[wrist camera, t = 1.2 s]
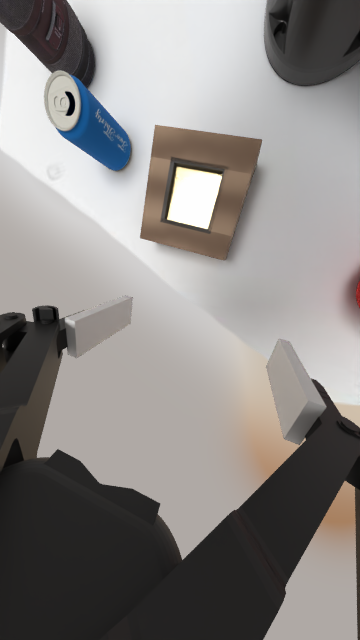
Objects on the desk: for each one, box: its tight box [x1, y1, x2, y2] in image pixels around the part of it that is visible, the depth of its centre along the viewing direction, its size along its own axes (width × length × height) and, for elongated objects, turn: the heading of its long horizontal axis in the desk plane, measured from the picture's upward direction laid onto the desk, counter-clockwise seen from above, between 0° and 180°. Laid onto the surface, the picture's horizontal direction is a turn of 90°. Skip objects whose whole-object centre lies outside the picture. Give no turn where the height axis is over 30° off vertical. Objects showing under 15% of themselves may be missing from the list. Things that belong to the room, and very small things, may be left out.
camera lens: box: [0, 0, 94, 87], centre depth 24 cm, size 8×8×15 cm
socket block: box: [140, 125, 262, 260], centre depth 30 cm, size 15×15×6 cm
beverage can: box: [44, 71, 131, 171], centre depth 28 cm, size 6×6×12 cm
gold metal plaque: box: [167, 167, 222, 229], centre depth 28 cm, size 7×7×1 cm
